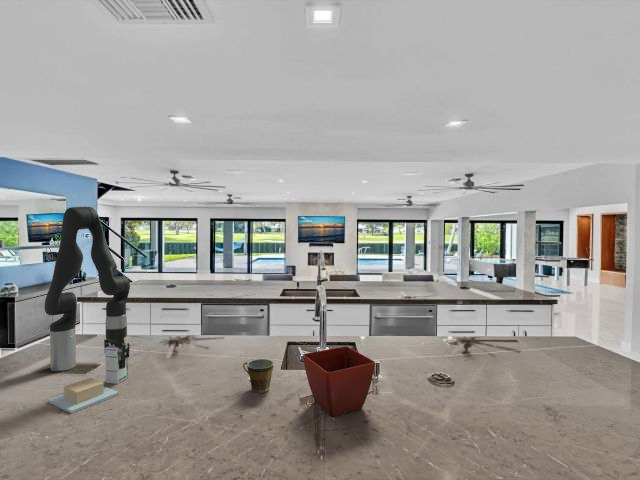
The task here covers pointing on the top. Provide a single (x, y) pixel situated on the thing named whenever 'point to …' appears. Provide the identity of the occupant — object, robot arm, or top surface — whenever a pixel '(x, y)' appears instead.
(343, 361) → the plant pot
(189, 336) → the top surface
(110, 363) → the syrup box
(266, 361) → the ceramic cup
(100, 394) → the build base
